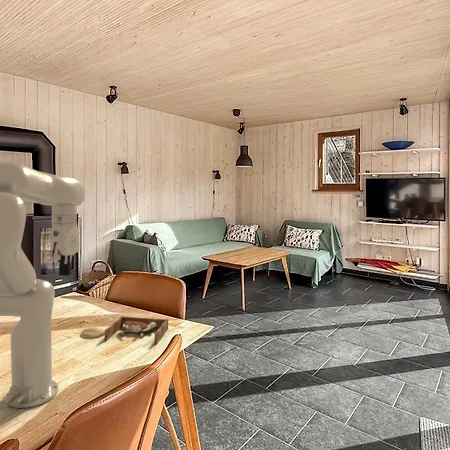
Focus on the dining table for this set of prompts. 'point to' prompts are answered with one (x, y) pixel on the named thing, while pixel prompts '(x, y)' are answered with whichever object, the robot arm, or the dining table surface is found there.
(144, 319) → the walnut tray
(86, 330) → the oak coaster
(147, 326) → the bull figurine
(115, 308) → the dining table surface
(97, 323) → the dining table surface
